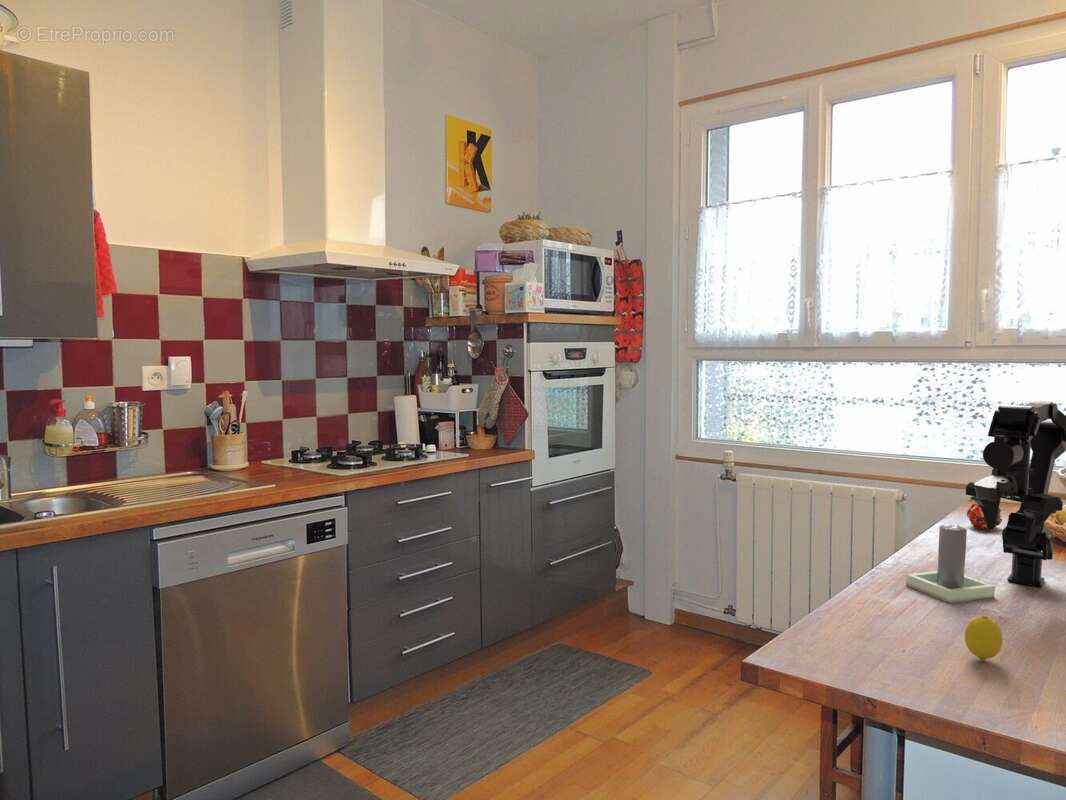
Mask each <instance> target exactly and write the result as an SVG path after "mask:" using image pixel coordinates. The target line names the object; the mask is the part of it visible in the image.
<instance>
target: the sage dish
mask: <svg viewBox="0 0 1066 800" xmlns="http://www.w3.org/2000/svg"><path fill="white" fill-rule="evenodd" d="M905 582H906V583H905V586H906V587H910V588H911V589H915V590H916V591H919V592H921V593H923V594H925V595H929V596H932V597H934V598H935V599H939V600H942V601H944V602H946V603H948V604H956V603H963V602H969V601H977V600H985V599H993V598H996V597H995V594H996V593H995V592H996V585H993V584H990V583H987V582H986V581H981V580H980V579H976V578H973V577H971V576H968V575H966V574H964V588H957V589H949V588H946V587H943V586H941V585H938V584H937V570H934V571H926V572H917V573H908V574H907V573H906V581H905Z"/></svg>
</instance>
